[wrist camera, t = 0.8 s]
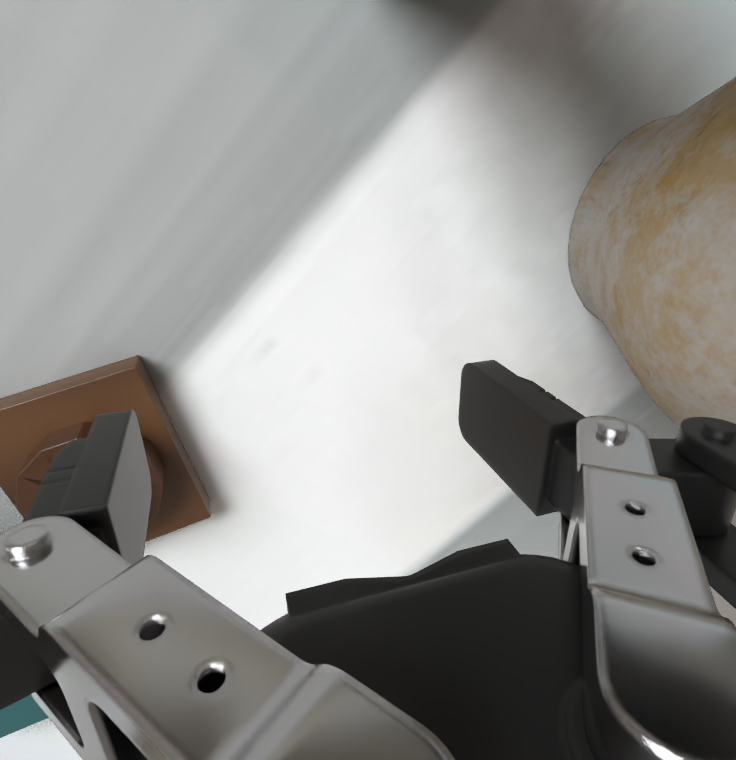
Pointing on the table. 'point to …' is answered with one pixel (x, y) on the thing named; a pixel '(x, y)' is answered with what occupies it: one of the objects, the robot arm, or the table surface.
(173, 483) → the switch box
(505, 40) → the table surface
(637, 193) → the vase
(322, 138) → the table surface
